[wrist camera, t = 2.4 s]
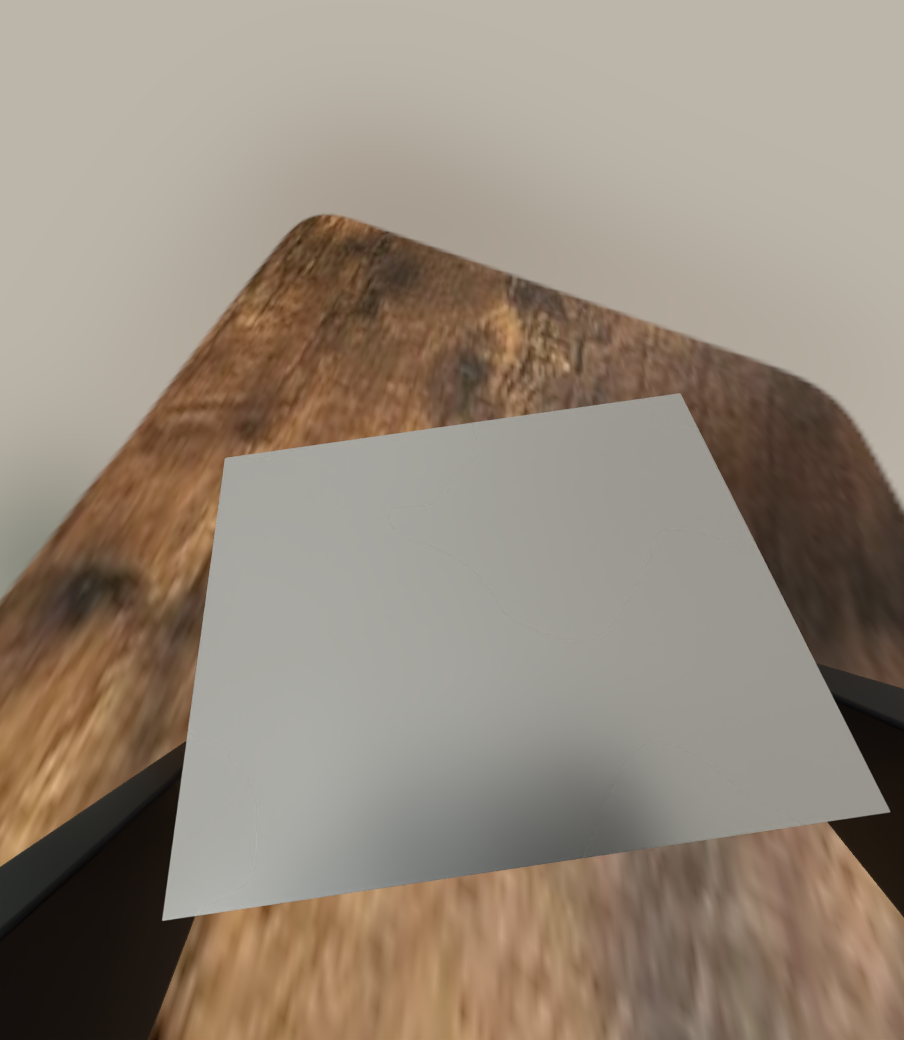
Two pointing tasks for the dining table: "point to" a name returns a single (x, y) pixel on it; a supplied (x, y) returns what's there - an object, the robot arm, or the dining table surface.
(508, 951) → the dining table surface
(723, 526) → the brushed steel block
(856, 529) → the dining table surface
